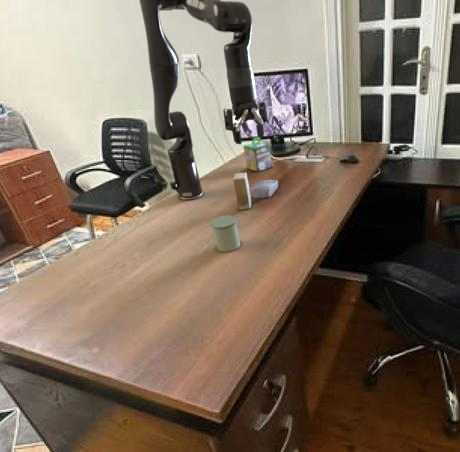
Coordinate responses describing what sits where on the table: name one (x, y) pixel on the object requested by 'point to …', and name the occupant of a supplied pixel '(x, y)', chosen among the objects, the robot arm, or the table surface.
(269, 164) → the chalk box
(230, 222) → the canister
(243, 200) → the cosmetic box
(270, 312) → the table surface
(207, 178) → the table surface
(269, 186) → the stone block
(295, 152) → the table surface
